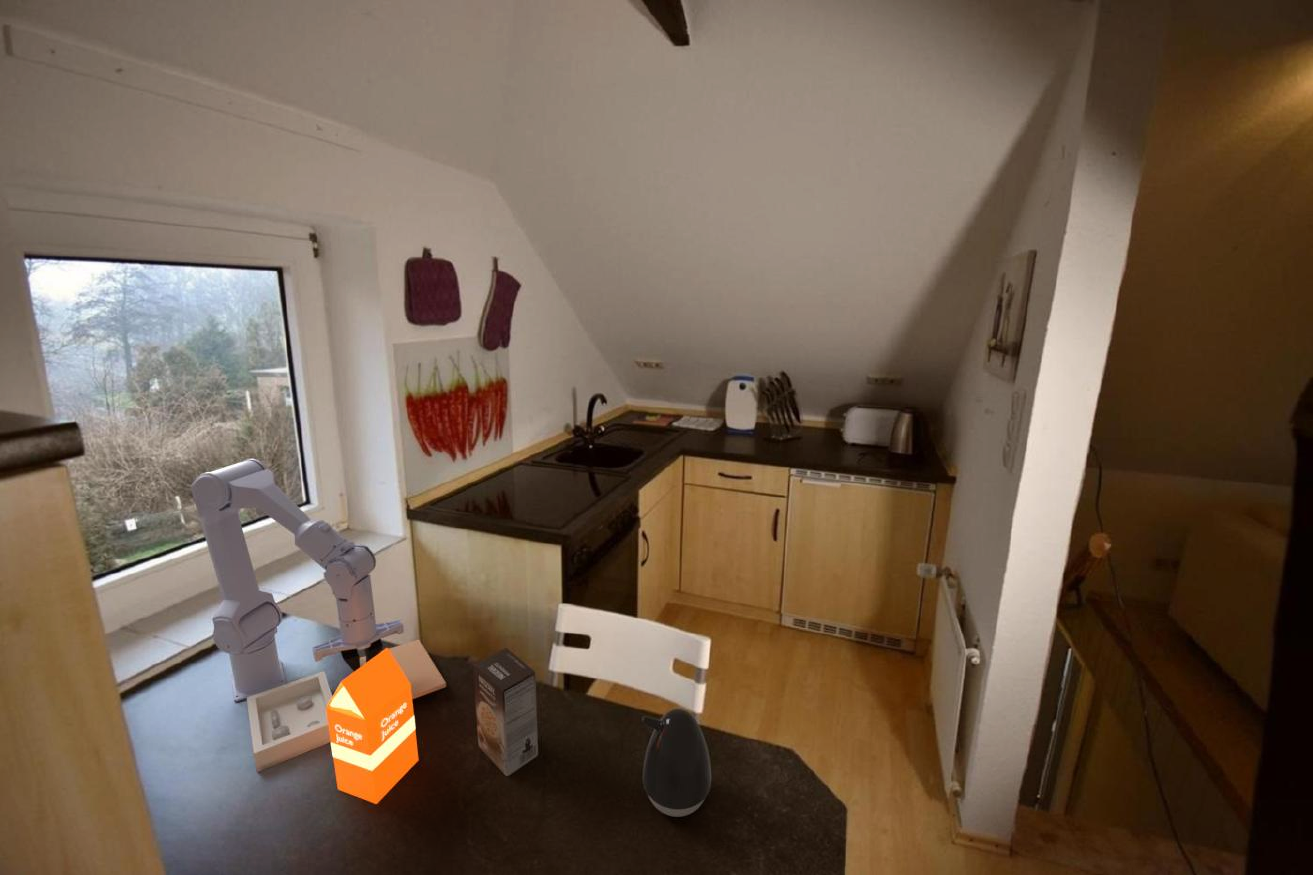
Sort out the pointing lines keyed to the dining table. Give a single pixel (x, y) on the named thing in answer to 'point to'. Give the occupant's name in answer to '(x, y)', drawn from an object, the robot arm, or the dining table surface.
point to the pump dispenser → (676, 764)
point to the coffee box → (506, 710)
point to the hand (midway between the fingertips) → (365, 678)
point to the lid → (416, 668)
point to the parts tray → (289, 720)
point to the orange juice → (372, 728)
